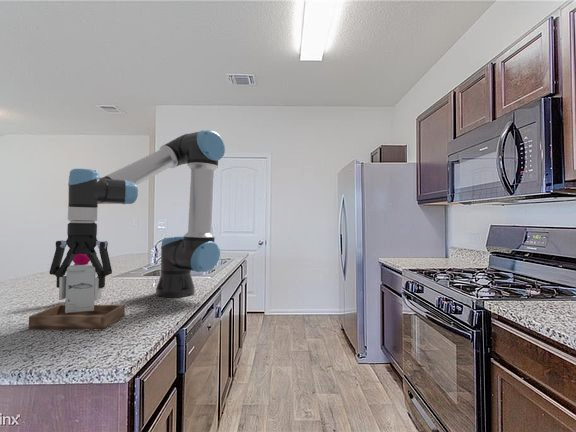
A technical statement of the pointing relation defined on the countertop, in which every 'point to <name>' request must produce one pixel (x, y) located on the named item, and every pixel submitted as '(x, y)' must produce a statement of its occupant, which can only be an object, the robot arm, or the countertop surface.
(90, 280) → the supplement box
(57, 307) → the walnut caddy
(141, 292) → the countertop surface
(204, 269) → the robot arm
